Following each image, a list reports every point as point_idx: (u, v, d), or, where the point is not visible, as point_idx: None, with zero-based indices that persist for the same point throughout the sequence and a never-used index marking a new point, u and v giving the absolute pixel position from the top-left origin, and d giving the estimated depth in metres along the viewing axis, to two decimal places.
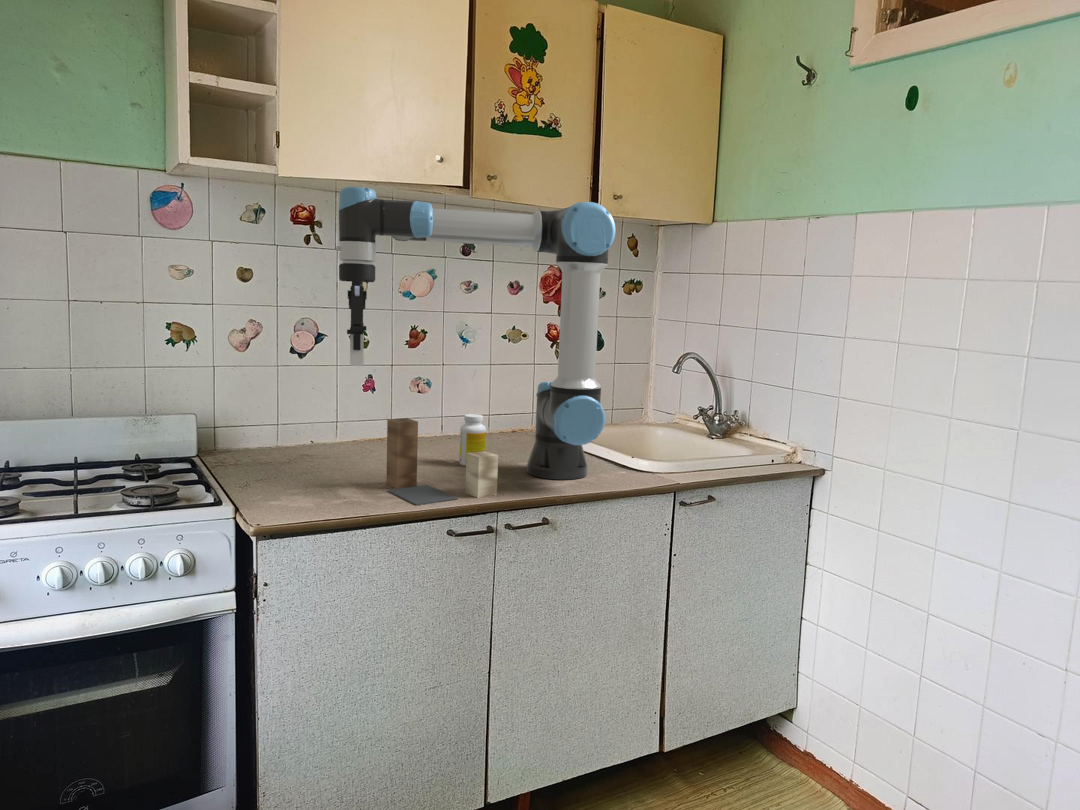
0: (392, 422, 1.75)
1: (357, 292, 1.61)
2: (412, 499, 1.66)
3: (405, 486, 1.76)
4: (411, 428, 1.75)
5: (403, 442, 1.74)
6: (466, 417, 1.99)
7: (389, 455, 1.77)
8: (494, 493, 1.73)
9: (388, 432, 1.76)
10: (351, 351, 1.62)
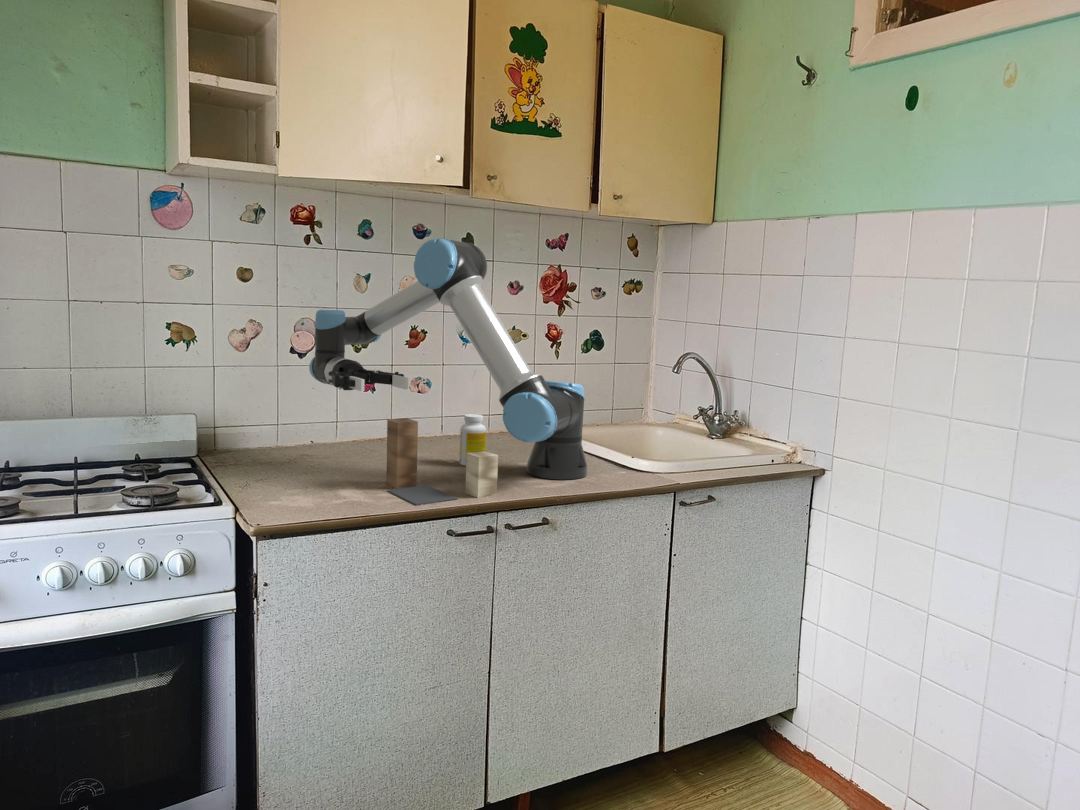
0: (392, 422, 1.75)
1: (330, 377, 1.90)
2: (412, 499, 1.66)
3: (405, 486, 1.76)
4: (411, 428, 1.75)
5: (403, 442, 1.74)
6: (466, 417, 1.99)
7: (389, 455, 1.77)
8: (494, 493, 1.73)
9: (388, 432, 1.76)
10: (355, 388, 1.81)
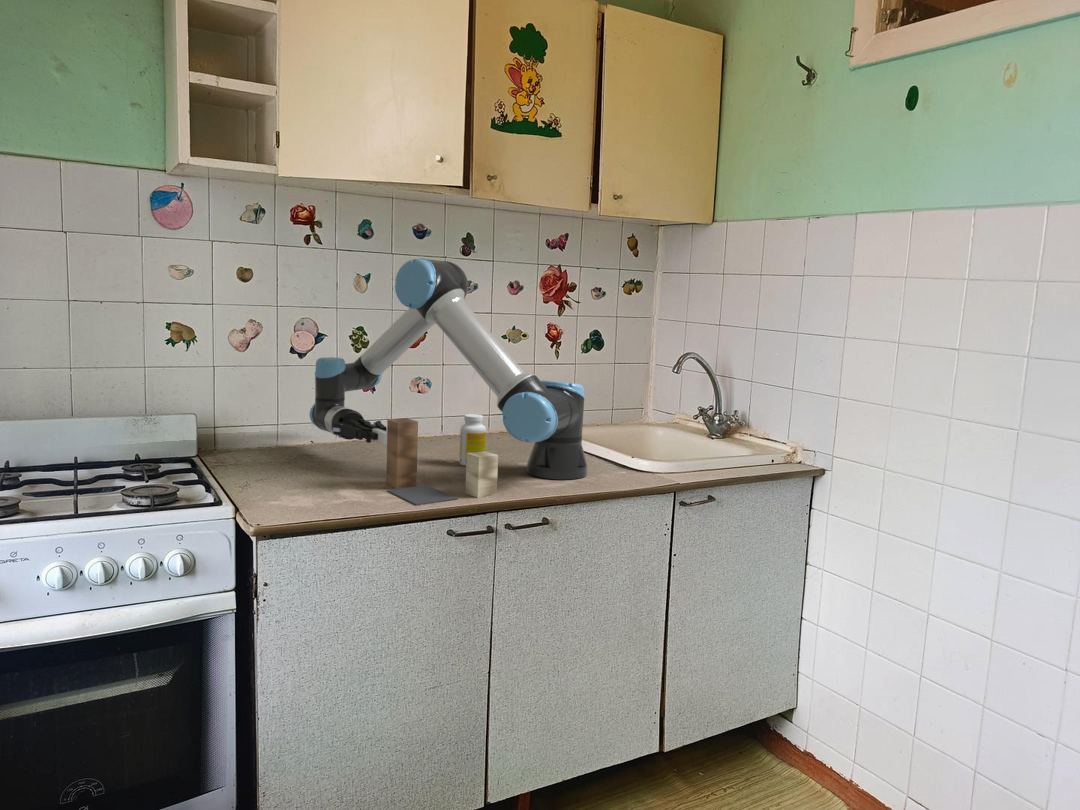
0: (392, 422, 1.75)
1: (337, 429, 1.91)
2: (412, 499, 1.66)
3: (405, 486, 1.76)
4: (411, 428, 1.75)
5: (403, 442, 1.74)
6: (466, 417, 1.99)
7: (389, 455, 1.77)
8: (494, 493, 1.73)
9: (388, 432, 1.76)
10: (378, 441, 1.84)
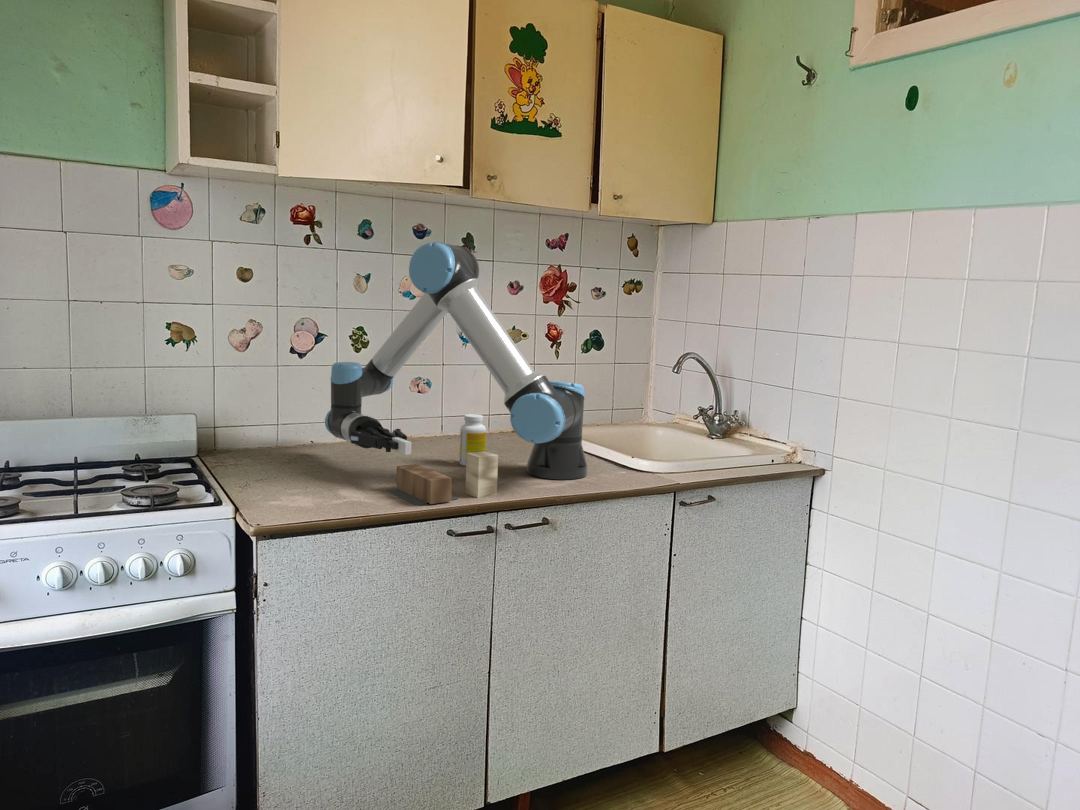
0: (430, 492, 1.63)
1: (355, 438, 1.82)
2: (412, 499, 1.66)
3: None
4: None
5: None
6: (466, 417, 1.99)
7: (412, 478, 1.69)
8: (494, 493, 1.73)
9: (424, 480, 1.65)
10: (399, 450, 1.75)
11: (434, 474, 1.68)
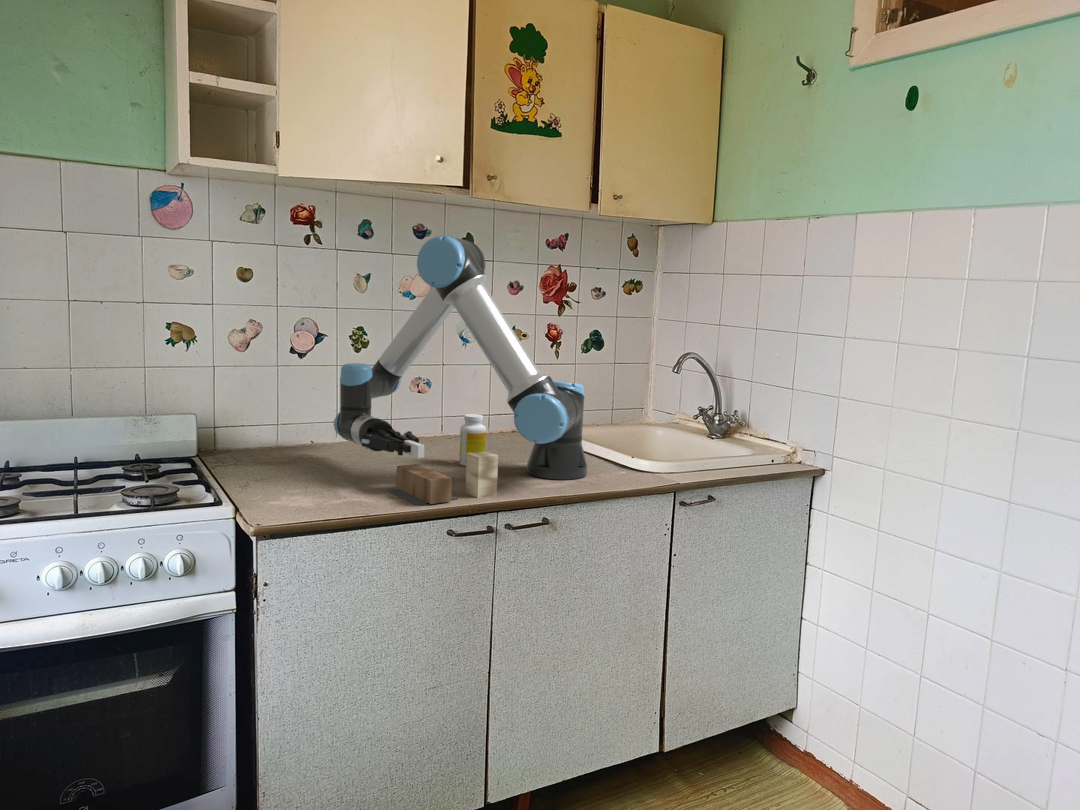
0: (430, 492, 1.63)
1: (366, 441, 1.78)
2: (412, 499, 1.66)
3: None
4: None
5: None
6: (466, 417, 1.99)
7: (412, 478, 1.69)
8: (494, 493, 1.73)
9: (424, 480, 1.65)
10: (411, 454, 1.72)
11: (434, 474, 1.68)
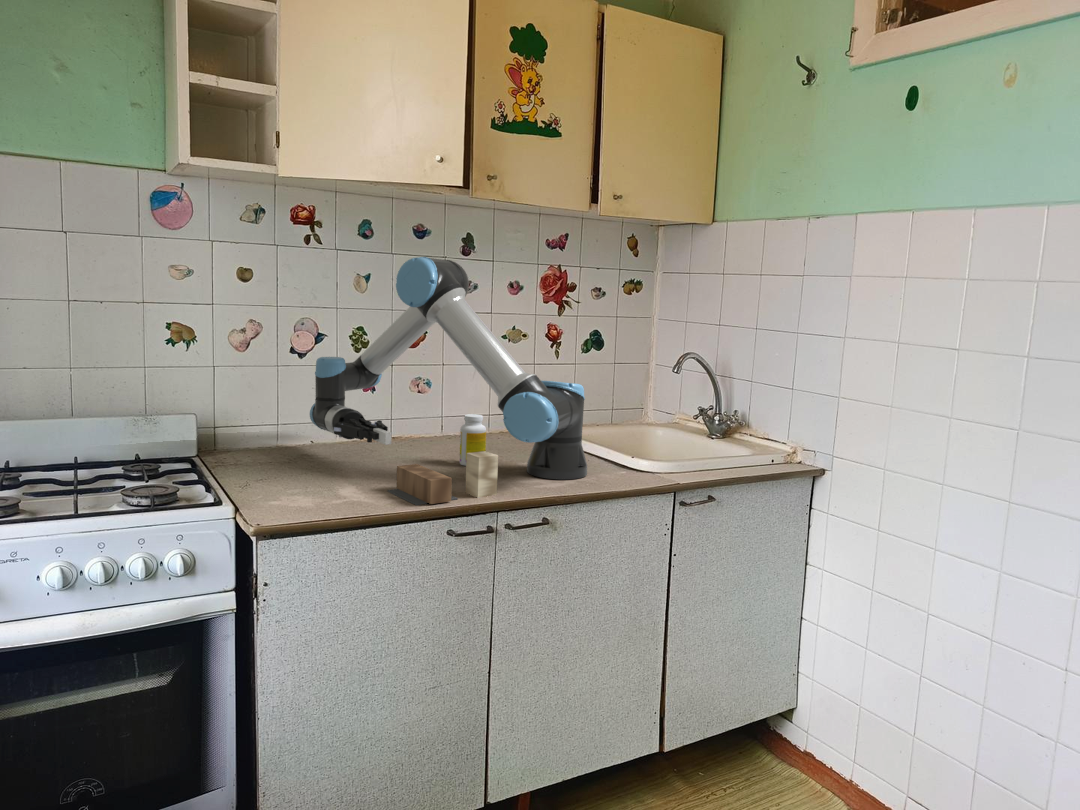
0: (430, 492, 1.63)
1: (337, 429, 1.90)
2: (412, 499, 1.66)
3: None
4: None
5: None
6: (466, 417, 1.99)
7: (412, 478, 1.69)
8: (494, 493, 1.73)
9: (424, 480, 1.65)
10: (379, 441, 1.84)
11: (434, 474, 1.68)
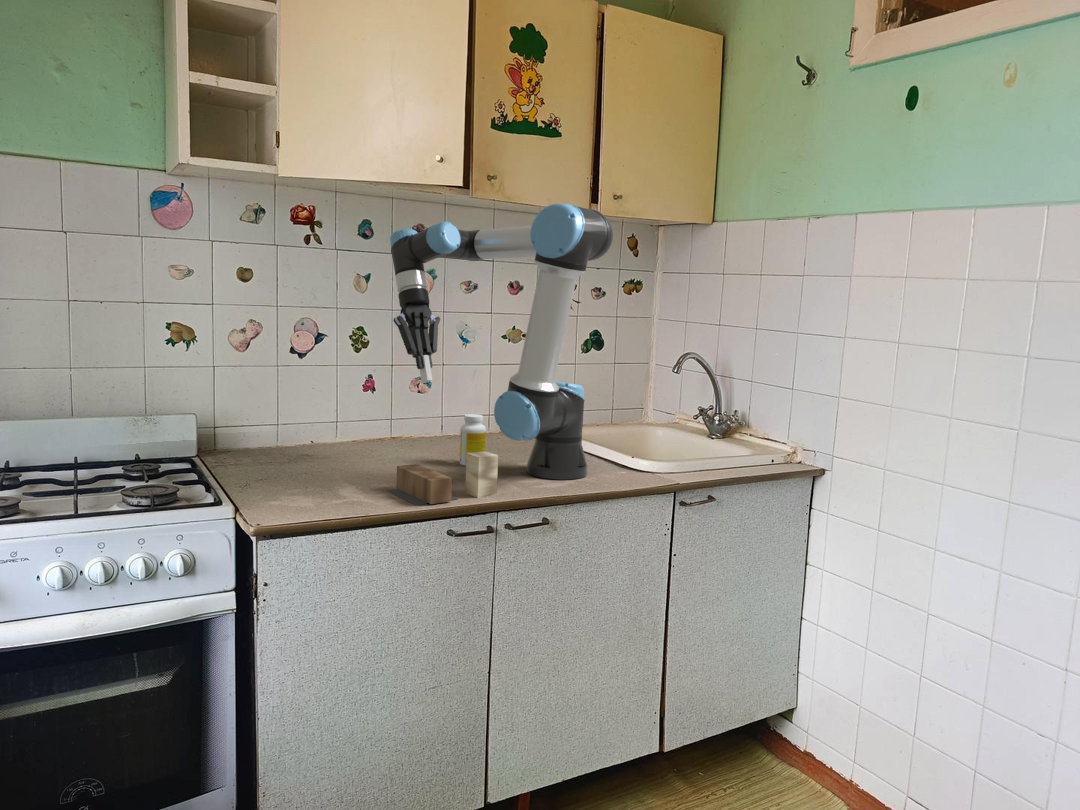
0: (430, 492, 1.63)
1: (398, 322, 1.95)
2: (412, 499, 1.66)
3: None
4: None
5: None
6: (466, 417, 1.99)
7: (412, 478, 1.69)
8: (494, 493, 1.73)
9: (424, 480, 1.65)
10: (420, 370, 1.98)
11: (434, 474, 1.68)
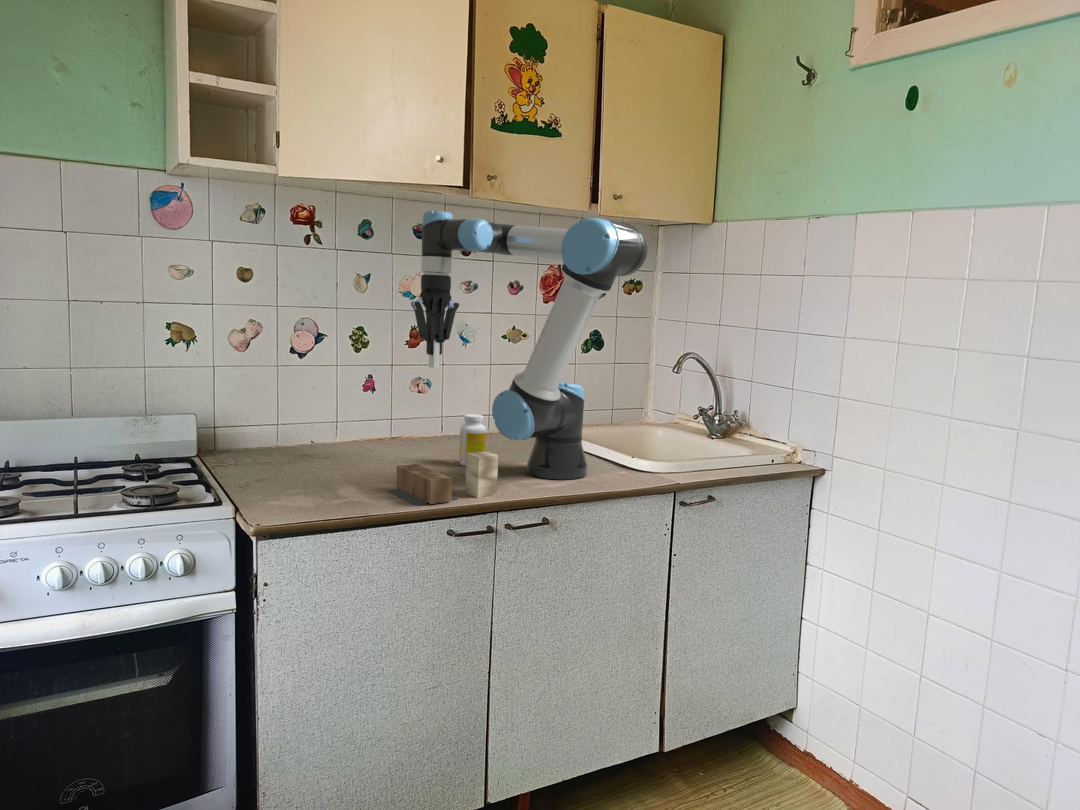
0: (430, 492, 1.63)
1: (415, 307, 1.96)
2: (412, 499, 1.66)
3: None
4: None
5: None
6: (466, 417, 1.99)
7: (412, 478, 1.69)
8: (494, 493, 1.73)
9: (424, 480, 1.65)
10: (429, 355, 2.02)
11: (434, 474, 1.68)
